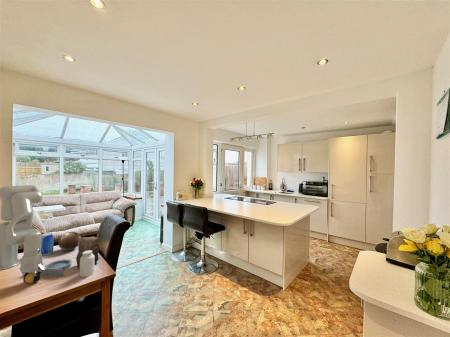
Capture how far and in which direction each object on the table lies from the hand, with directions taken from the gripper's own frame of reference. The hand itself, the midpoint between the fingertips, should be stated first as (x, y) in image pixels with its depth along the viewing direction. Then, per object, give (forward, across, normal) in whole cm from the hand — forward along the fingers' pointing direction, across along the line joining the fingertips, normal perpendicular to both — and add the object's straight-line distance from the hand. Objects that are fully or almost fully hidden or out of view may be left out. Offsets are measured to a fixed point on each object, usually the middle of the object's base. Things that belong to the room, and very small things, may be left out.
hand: (31, 281), depth 115 cm
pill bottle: (+1, +26, +12) cm, 29 cm away
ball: (-2, 0, 0) cm, 2 cm away
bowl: (+1, 0, +17) cm, 17 cm away
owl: (+1, +17, +21) cm, 27 cm away
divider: (+1, 0, +8) cm, 8 cm away
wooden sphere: (+1, -18, +45) cm, 48 cm away
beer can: (+1, -30, +36) cm, 47 cm away
